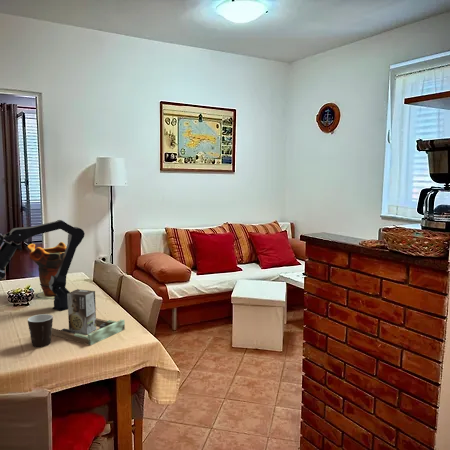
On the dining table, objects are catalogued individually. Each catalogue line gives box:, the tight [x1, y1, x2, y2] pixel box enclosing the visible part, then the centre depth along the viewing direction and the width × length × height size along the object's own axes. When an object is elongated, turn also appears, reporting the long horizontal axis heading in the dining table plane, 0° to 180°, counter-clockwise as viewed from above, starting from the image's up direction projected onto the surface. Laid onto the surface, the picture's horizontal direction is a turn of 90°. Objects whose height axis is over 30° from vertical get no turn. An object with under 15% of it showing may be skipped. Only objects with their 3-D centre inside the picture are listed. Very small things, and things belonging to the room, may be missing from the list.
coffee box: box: [67, 288, 97, 335], centre depth 168 cm, size 9×6×16 cm
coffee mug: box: [26, 313, 54, 348], centre depth 153 cm, size 12×9×10 cm
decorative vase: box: [27, 241, 71, 300], centre depth 217 cm, size 21×23×28 cm
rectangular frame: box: [51, 317, 126, 346], centre depth 167 cm, size 18×24×4 cm
